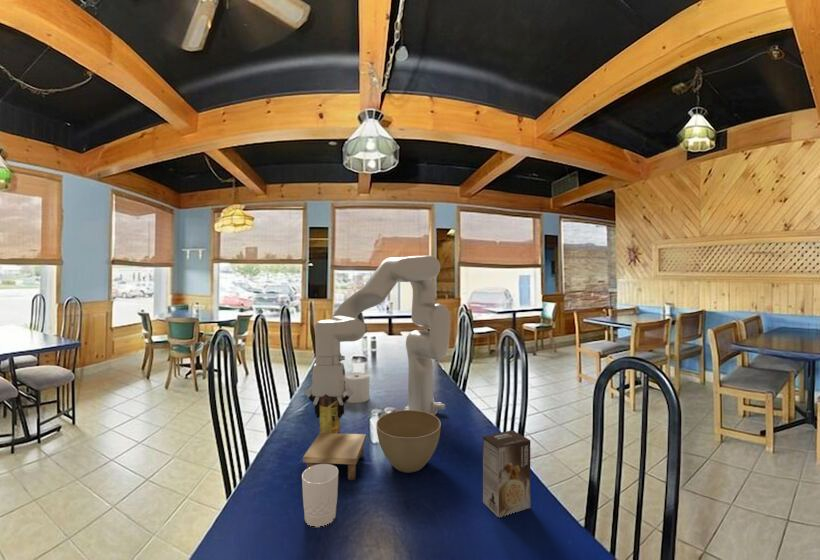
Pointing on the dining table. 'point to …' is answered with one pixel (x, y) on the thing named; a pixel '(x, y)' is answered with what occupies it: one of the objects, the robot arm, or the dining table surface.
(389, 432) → the tan bowl
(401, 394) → the dining table surface
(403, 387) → the dining table surface
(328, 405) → the sauce bottle
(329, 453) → the footstool
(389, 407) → the dining table surface
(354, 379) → the toilet tissue
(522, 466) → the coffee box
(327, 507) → the white cup
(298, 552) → the dining table surface
